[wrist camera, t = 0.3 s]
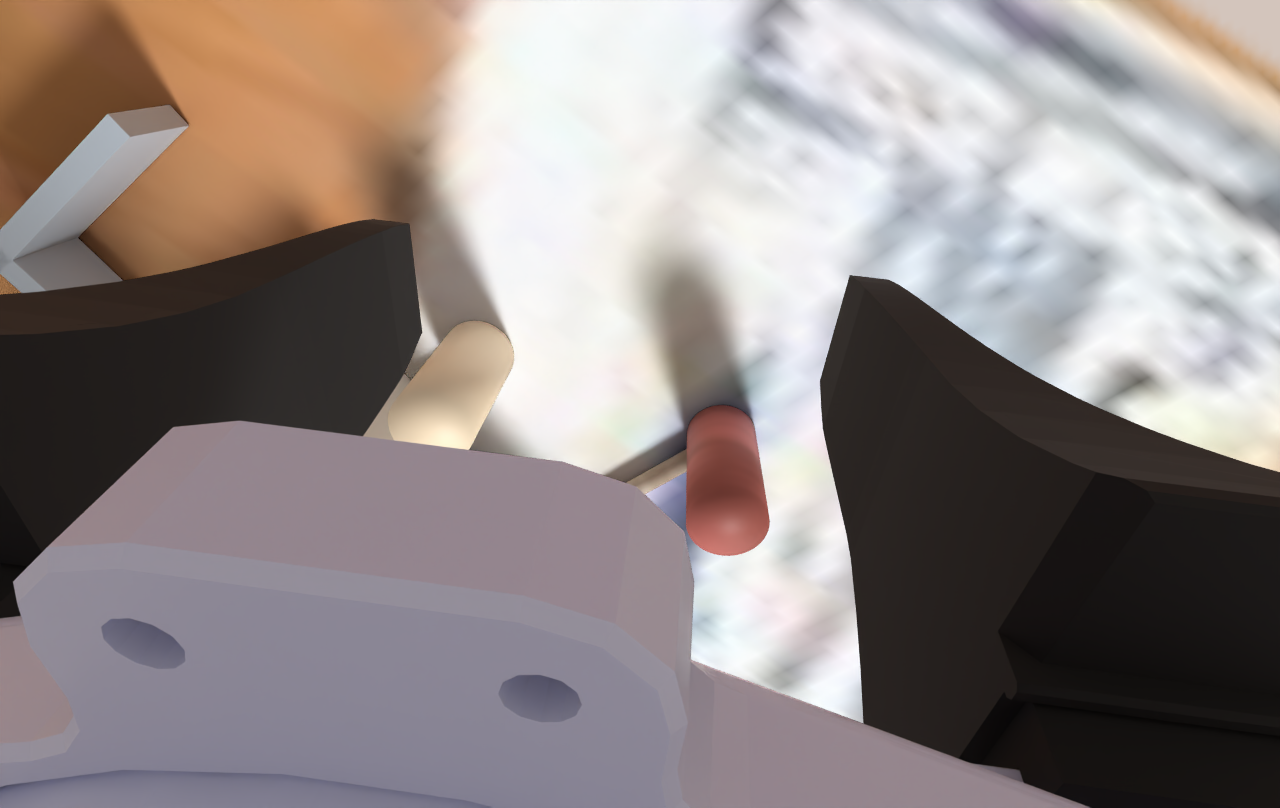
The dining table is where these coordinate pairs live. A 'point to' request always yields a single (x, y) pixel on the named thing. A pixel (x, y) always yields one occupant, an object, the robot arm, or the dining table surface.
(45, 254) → the lane rack
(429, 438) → the white block with peg
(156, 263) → the dining table surface
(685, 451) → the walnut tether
